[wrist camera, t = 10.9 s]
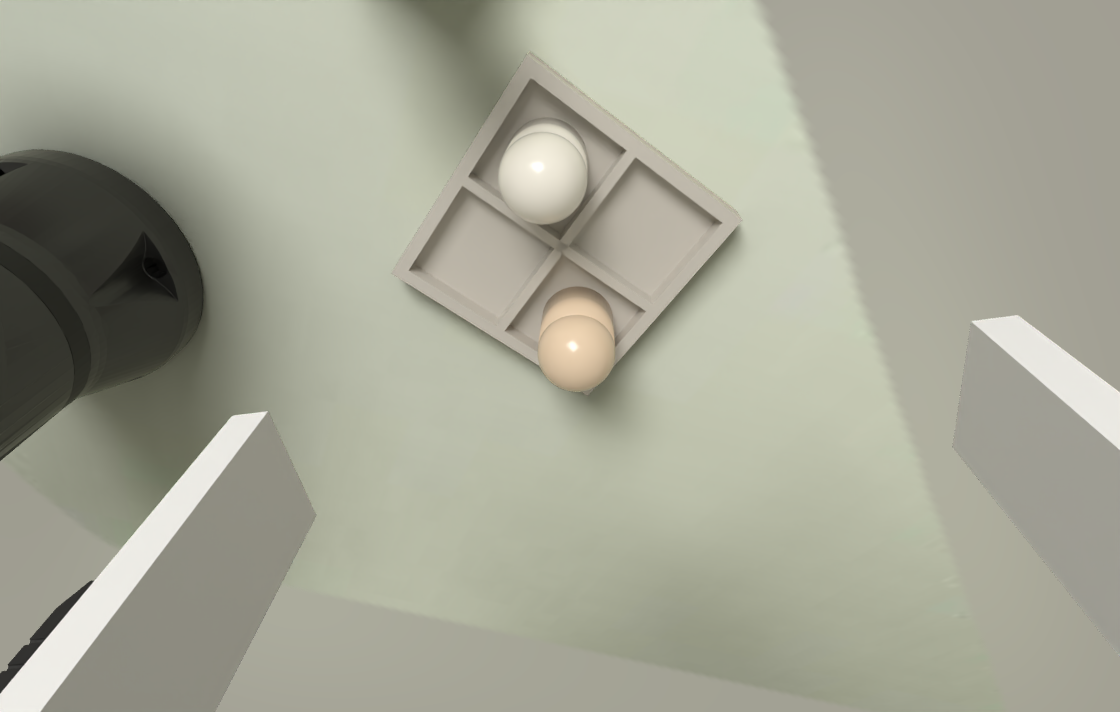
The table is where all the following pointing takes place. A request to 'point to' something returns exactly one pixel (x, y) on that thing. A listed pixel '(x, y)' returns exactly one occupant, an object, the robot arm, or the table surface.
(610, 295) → the divided tray
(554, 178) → the resting egg
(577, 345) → the egg
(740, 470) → the table surface
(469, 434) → the table surface
